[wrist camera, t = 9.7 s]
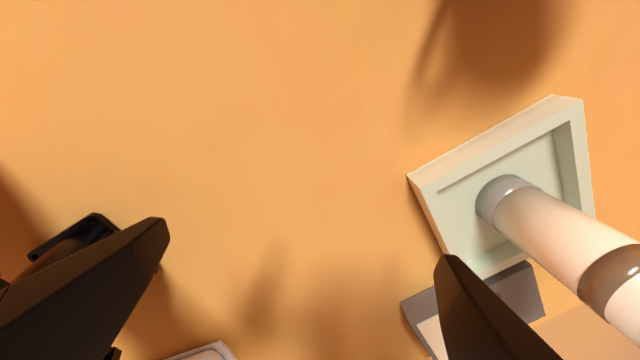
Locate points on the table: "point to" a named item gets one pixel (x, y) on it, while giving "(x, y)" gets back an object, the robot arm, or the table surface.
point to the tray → (499, 159)
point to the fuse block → (508, 284)
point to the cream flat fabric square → (207, 353)
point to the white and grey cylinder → (569, 248)
